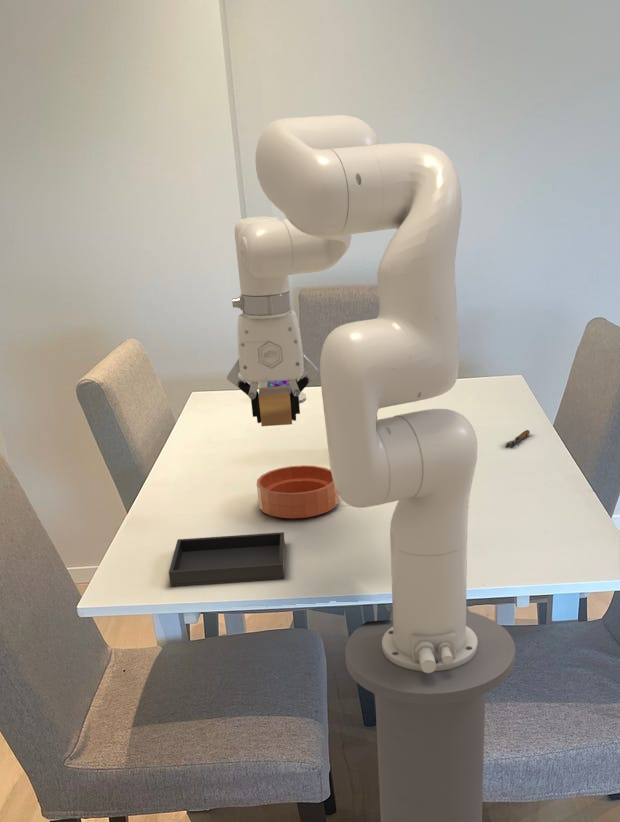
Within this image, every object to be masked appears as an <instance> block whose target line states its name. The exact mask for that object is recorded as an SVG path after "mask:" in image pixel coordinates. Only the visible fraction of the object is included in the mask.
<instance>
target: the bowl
mask: <svg viewBox="0 0 620 822" xmlns="http://www.w3.org/2000/svg"><path fill="white" fill-rule="evenodd" d="M256 490H257V500H258V507H259V509H260V510H261V512H262V513H264V514H266V515H268V516H272V517H277V518H280V519H281V518H282V519H283V518H284V519H305V518H310V517H311V518H312V517H315V516H320V515H322V514H326V513H327V512H330V511H331V510H333V509H335V508H336V507H337V505H338V504H339V503H340V496H339V494H338V492H337V490H336V488H335V485H334V482H333V478H332V474H331V468H328V467H324V466H318V465H307V464H306V465H305V464H304V465H303V464H302V465H289V466H284V467H279V468H275V469H273V470H269V471H267V472H265V473H263V474H262V475H260V476H259V477H258V478H257V479H256Z"/></svg>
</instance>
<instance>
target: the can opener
mask: <svg viewBox="0 0 620 822" xmlns="http://www.w3.org/2000/svg"><path fill="white" fill-rule="evenodd" d="M530 433H531V432H530V430H529V429H526V430H524V431H522V432H521V433H520V434H519V435H518V436H516V437H515V438H514V440H510V441H508V442H506V443H505V446H506V447H507V446H509V447H513V446H514V445H515V443H517V444H518V443H520V442H521V441H522V440H523V439H525V438H526V437H528V436H529V435H530Z"/></svg>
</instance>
